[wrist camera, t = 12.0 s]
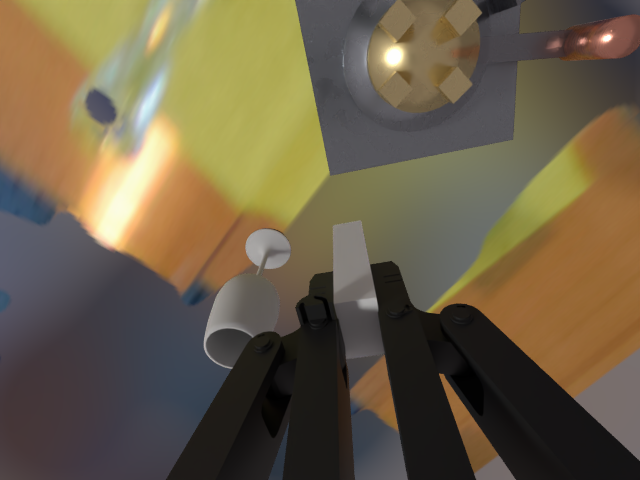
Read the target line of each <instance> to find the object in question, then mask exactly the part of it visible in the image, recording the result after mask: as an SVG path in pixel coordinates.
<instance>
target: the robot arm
mask: <svg viewBox="0 0 640 480" xmlns="http://www.w3.org/2000/svg"><path fill="white" fill-rule="evenodd" d="M295 308H296V311H297V315H298V318H299V321H300V324H301V327H300V328H299V329H298V330H296V331H295V332H293V333H291V334H288V335H286V336H284V337H280V335H279V334H277V333H276V332H272V331H268V332H262V333H260V334H257V335H256V336H254V337H253V338H251V340H250V341H249V342H248V343H247V345H246V346H245V348H244V350H243V351H242V353H241V355H240V356H239V358H238V360H237V361H236V363H235V365H234V366H233V368H232V370H231V371H230V373H229V375H228V376H227V378H226V380H225V382H224V383H223V385H222V387H221V388H220V390H219V392H218V393H217V395H216V397H215V398H214V400H213V402H212V403H211V405H210V407H209V408H208V410H207V412H206V413H205V415H204V417H203V419H202V420H201V422H200V424H199V425H198V427H197V428H196V430H195V432H194V433H193V435H192V437H191V439H190V440H189V442H188V444H187V445H186V447H185V449H184V451H183V452H182V454H181V455H180V457H179V459H178V460H177V462H176V464H175V465H174V467H173V469H172V470H171V472H170V474H169V476H168V477H167V479H166V480H268V478H269V476H270V473H271V470H272V467H273V464H274V461H275V459H276V456H277V453H278V450H279V448H280V445H281V442H282V439H283V436H284V434H285V431H286V428H287V425H288V422H289V429H288V438H287V446H286V455H285V463H284V471H283V480H355V475H354V459H353V443H352V427H351V426H352V425H351V409H350V392H349V377H348V376H349V375H348V368H347V364H346V357H347V359H351V358H359V357H366V356H374V355H383V354H385V358H386V364H387V370H388V376H389V380H390V386H391V391H392V397H393V402H394V407H395V413H396V418H397V424H398V429H399V434H400V440H401V444H402V451H403V456H404V461H405V467H406V472H407V477H408V480H476V478H475V476H474V472H473V470H472V467H471V464H470V461H469V458H468V455H467V453H466V450H465V447H464V444H463V441H462V438H461V436H460V433H459V430H458V427H457V424H456V421H455V419H454V416H453V413H452V410H451V407H450V404H449V402H448V399H447V396H446V393H445V390H444V387H443V385H442V382H441V379H440V376H439V373H440V374H444V376H445V378H446V379H447V381H448V382H449V384H450V385H451V387H452V388H453V390H454V391H455V392H456V394H457V395H458V397H459V398H460V400H461V401H462V403H463V404H464V405H465V407H466V408H467V410H468V411H469V413H470V414H471V415H472V417H473V418H474V420H475V421H476V423H477V424H478V426H479V427H480V428H481V430H482V431H483V433H484V434H485V436H486V437H487V439H488V440H489V441H490V443H491V444H492V446H493V447H494V449H495V450H496V452H497V453H498V454H499V456H500V457H501V458H502V460H503V462H504V463H505V464H506V466H507V467H508V469H509V470H510V471H511V473H512V474H513V476H514V477H515V479H516V480H640V461H639V460H638V459H637V458H636V457H635V456H634V455H633V454H632V453H631V452H629V450H627V449H626V448H625V447H624V446H623V445H622V444H621V443H620V442H619V441H618V440H617V439H616V438H615V437H614V436H612V435H611V434H610V433H609V432H608V431H607V430H606V429H605V428H604V427H603V426H602V425H601V424H600V423H598V422H597V420H596V419H594V418H593V417H592V416H591V415H590V414H589V413H588V412H587V411H586V410H585V409H584V408H583V407H582V406H580V404H578V403H577V402H576V401H575V400H574V399H573V398H572V397H571V396H570V395H569V394H568V393H567V392H566V391H565V390H564V389H563V388H561V387H560V386H559V385H558V384H557V383H556V382H555V381H554V380H553V379H552V378H551V377H550V376H549V375H548V374H547V373H545V372H544V371H543V370H542V369H541V368H540V367H539V366H538V365H537V364H536V363H535V362H534V361H533V360H532V359H531V358H529V357H528V356H527V355H526V354H525V353H524V352H523V351H522V350H521V349H520V348H519V347H518V346H517V345H516V344H515V343H514V342H512V341H511V340H510V339H509V338H508V337H507V336H506V335H505V334H504V333H503V332H502V331H501V330H500V329H499V328H498V327H496V326H495V325H494V324H493V323H492V322H491V321H490V320H489V319H488V318H487V317H486V316H485V315H484V314H483V313H482V312H481V311H479V310H478V309H476V308H475V307H473V306H470V305H467V304H452V305H449V306H447V307H445V308H443V310H442V311H441V312H440V314H434V313H427V312H423V311H420V310H418V309H416V308H415V307H414V306H413V304H412V303H411V302H410V299H409V297H408V293H407V290H406V287H405V285H404V282H403V279H402V276H401V273H400V270H399V267H398V266H397V265H396V264H394V263H393V262H392V261H390V262H383V263H377V264H371V265H370V263H369V258H368V253H367V248H366V243H365V238H364V233H363V228H362V223H361V221H355V222H350V223H343V224H338V225H333V271H332V272H326V273H320V274H315V275H314V276H313V278H312V279H311V281H310V286H309V295H308V296H306V297H304V298H302V299H301V300H300V301H299V302H298V303H297V305H296V307H295Z"/></svg>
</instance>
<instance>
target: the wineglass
mask: <svg viewBox="0 0 640 480" xmlns="http://www.w3.org/2000/svg"><path fill="white" fill-rule="evenodd" d="M246 253H247V255H248V257H249V259H250V260H251V261H252V262H253V263H254V264H256V265H257V266H259V269H258V272H257V275H256V274H241V275H238V276H236V277H234V278H232V279H230V280H229V281H228V282H226V283H225V285H224V286H223V287H222V289H221V290H220V291H219V293H218V295H217V297H216V299H215V302H214V304H213V307H212V310H211V314H210V317H209V320H208V324H207V328H206V333H205V338H204V349H205V352H206V354H207V355H208V357H209V358H210V359H211V360H213V361H214V362H215V363H217V364H218V365H221V366H223V367H226V368H230V369H232V368H233V366H234V365H235V363H236V361H237V360H238V358H239V356H240V355H241V353H242V351H243V350H244V348H245V346H246V345H247V343H248V342H249V341H250V340H251V338H253V337H254V336H256V335H257V334H260V333H262V332H268V331H272V332H273V330H274V327H275V325H276V322H277V320H278V315H279V307H280V300H279V295H278V293H277V291H276V289H275V287H274V285H273V284H272V283H271V282H270V281H269V280H267V279H266V278H264V277H262V273H263V270H264V268H266V269H274V268H278V267H280V266H282V265H284V264H285V263H286V262H287V261H288V259H289V257H290V254H291V246H290V243H289V241H288V239H287V238H286V237H285V236H284V235H283V234H282V233H280V232H278V231H277V230H273V229H266V228H265V229H259V230H257V231H255V232H253V233H252V234H251V235H250V236H249V238H248V239H247V242H246Z"/></svg>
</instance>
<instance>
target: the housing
mask: <svg viewBox="0 0 640 480" xmlns="http://www.w3.org/2000/svg"><path fill="white" fill-rule="evenodd" d="M295 1H296V6H297V11H298V16H299V21H300V26H301V31H302V36H303V41H304V46H305V51H306V56H307V61H308V66H309V71H310V76H311V81H312V86H313V91H314V96H315V101H316V106H317V111H318V116H319V121H320V126H321V131H322V136H323V141H324V146H325V151H326V156H327V161H328V166H329V171H330V175H336V174H341V173H346V172H351V171H356V170H361V169H366V168H371V167H376V166H382V165H387V164H392V163H397V162H402V161H407V160H411V159H417V158H422V157H427V156H432V155H437V154H442V153H447V152H452V151H458V150H463V149H467V148H473V147H478V146H483V145H488V144H492V143H498V142H503V141H508V140H513V131H514V112H515V111H514V110H515V94H516V76H517V61H508V62H495V63H483V64H476V67H475V69H474V71H473V74H472V76H471V77H470V79H469V80H470V81H471V83H472V84H473V85H472V86H471V87H470V88H469V89H468V90H467V91H466V92H465V93H464V94H463V95H462V96H461V97H460V98H459V99H458V100H457V101H456V102H455V103H454V104H452V103H449V102H448V103H447V104H445V105H443V106H442V107H440V108H437V109H435V110H432V111H428V112H423V113H411V112H405V111H402V110H399V109H397V108H394V107H393V106H391V105H389V104H388V103H386V102H385V101H384V100H383V99H382V98H380V96H379V95H378V94H377V93H376V91H375V90H374V88H373V86H372V84H371V82H370V79H369V76H368V72H367V63H366V57H367V48H368V44H369V40H370V37H371V34H372V32H373V30H374V28H375V26H376V24H377V23H378V21H379V20H380V18H381V17H382V16H383V15H384V14H385V12H386V11H387V10H388V9H389V8H390V7H391V6H392V5H393V4H394V3H395V2H396V1H397V0H295ZM524 1H525V0H473V2H474V3H475V4H476V5H477V7H478V8H479V9H480V11H481V12H482V14H481V15H480V16H479V17H478V18H477V19H476V20H477V23H478V26H479V32H480V37H489V36H500V35H512V34H519V24H520V7H521V6H520V5H521V3H522V2H524Z"/></svg>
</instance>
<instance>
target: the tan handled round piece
mask: <svg viewBox="0 0 640 480" xmlns="http://www.w3.org/2000/svg"><path fill="white" fill-rule="evenodd" d="M481 14H482V12H481V11H480V9H479V8H478V7H477V5H476V4H475V3H474V2H473V0H397V1H396V2H395V3H394V4H393V5H392V6H391V7H390V8H389V9H388V10H387V11H386V12H385V14H384V15H383V16H382V17H381V18H380V20H379V21H378V23H377V24H376V26H375V28H374V30H373V32H372V34H371V37H370V40H369V44H368V48H367V57H366V63H367V72H368V76H369V79H370V82H371V84H372V86H373V88H374V90H375V91H376V93H377V94H378V95H379V96H380V98H382V99H383V100H384V101H385V102H386V103H388V104H389V105H391V106H393V107H394V108H397V109H399V110H402V111H405V112H411V113H423V112H428V111H432V110H435V109H437V108H440V107H442V106H443V105H445V104H447V103H448V102H449V103H452V104H454V103H455V102H456V101H457V100H458V99H459V98H460V97H461V96H462V95H463V94H464V93H465V92H466V91H467V90H468V89H469V88H470V87H471V86H472V85H473V84H472V83H471V81H470V80H469V79H470V77H471V76H472V74H473V71H474V69H475V67H476V64H483V63H495V62H508V61H520V60H532V59H545V58H558V57H559V58H560V59H561V60H564V61H572V60H591V59H612V58H622V57H625V56H628V55H629V54H631V53H632V52H633V51H635V50H636V49H637V48H638V47H639V45H640V16H638V15H627V16H622V17H617V18H612V19H606V20H602V21H596V22H591V23H586V24H581V25H576V26H572V27H569V28H568V29H566V30H559V31H548V32H537V33H524V34H512V35H500V36H489V37H480V32H479V26H478V23H477V20H476V19H477V18H478V17H479V16H480V15H481Z"/></svg>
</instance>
